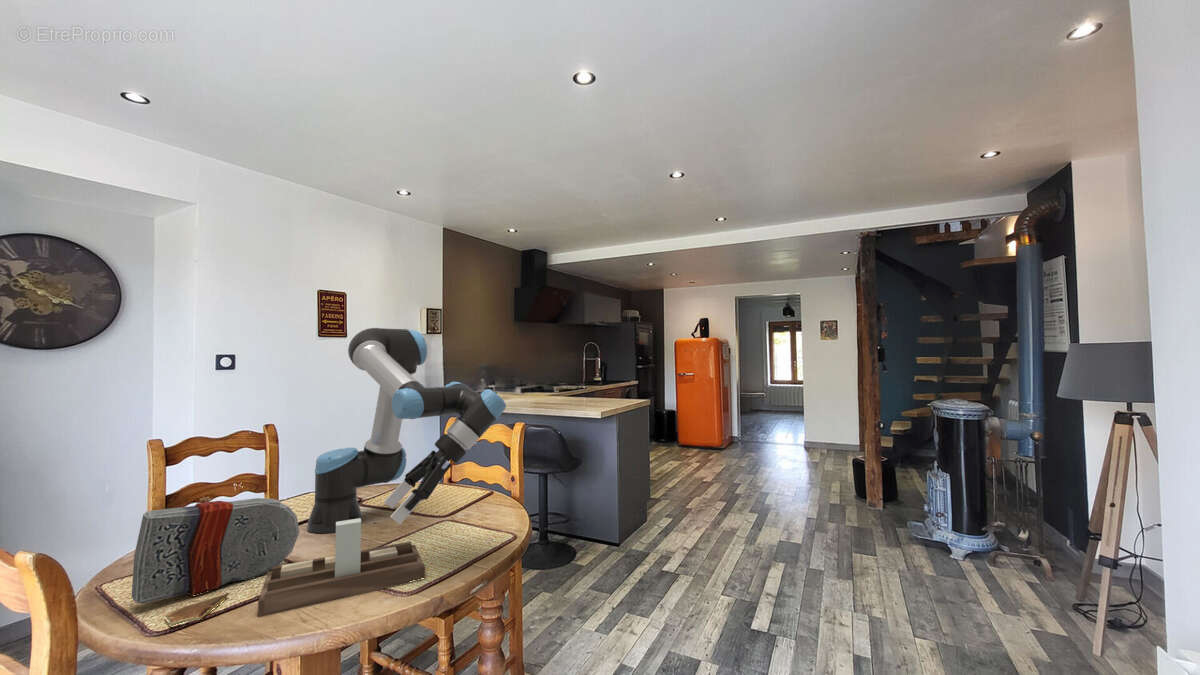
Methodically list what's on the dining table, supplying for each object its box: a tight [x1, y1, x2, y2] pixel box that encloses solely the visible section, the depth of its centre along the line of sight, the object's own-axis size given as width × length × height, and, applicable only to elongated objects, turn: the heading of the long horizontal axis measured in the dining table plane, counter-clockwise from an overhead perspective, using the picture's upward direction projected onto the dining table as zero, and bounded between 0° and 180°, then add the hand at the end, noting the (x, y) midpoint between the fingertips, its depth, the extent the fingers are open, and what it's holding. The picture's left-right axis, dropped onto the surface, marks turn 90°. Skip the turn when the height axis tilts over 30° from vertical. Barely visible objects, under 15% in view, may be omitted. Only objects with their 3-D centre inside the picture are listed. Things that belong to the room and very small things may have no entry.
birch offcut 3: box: [369, 547, 397, 561], centre depth 116 cm, size 4×6×4 cm, turn 120°
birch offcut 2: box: [325, 555, 335, 570], centre depth 112 cm, size 4×7×5 cm, turn 120°
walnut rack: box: [257, 541, 426, 617], centre depth 110 cm, size 16×32×4 cm, turn 120°
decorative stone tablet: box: [130, 497, 300, 605], centre depth 110 cm, size 19×6×30 cm
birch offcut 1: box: [280, 559, 313, 578], centre depth 107 cm, size 4×6×5 cm, turn 120°
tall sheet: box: [334, 518, 362, 578], centre depth 107 cm, size 3×5×15 cm, turn 120°
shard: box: [163, 592, 230, 626], centre depth 97 cm, size 11×8×2 cm
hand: (391, 512), depth 111 cm, fingers open, 13 cm apart
